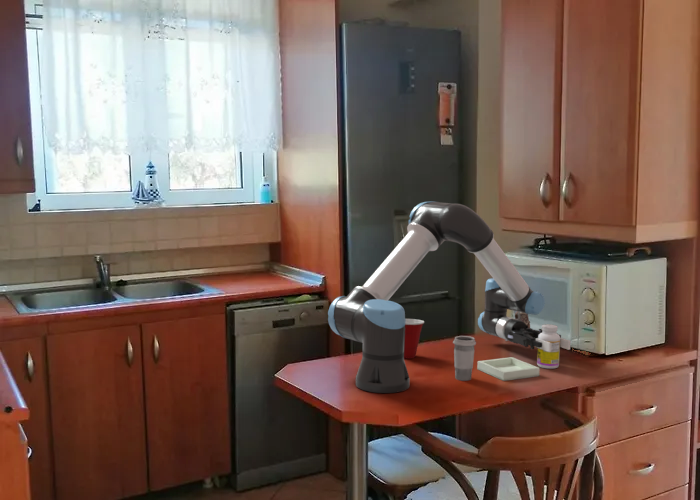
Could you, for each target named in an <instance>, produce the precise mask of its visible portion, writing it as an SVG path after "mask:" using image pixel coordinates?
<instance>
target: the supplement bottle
mask: <svg viewBox="0 0 700 500" xmlns="http://www.w3.org/2000/svg"><path fill="white" fill-rule="evenodd" d="M541 329H542V333H540V334H539V335H538V339H541V340H544V341H547V342H550V343H552V346H551V352H548V351H545V350H542V349H539V348H537V351H536V352H537V354H536V364H537V367H539V368H542V369H548V370H549V369H550V370H552V369H553V370H554V369H556V368H559V366H560V352H561V351H560V348H561V347H560V336H559V335H560V334H559V333H557V331H558V326H557V325H555V324H548V323H547V324H542V325H541ZM558 334H559V335H558Z"/></svg>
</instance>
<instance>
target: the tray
mask: <svg viewBox="0 0 700 500" xmlns="http://www.w3.org/2000/svg"><path fill="white" fill-rule="evenodd" d="M540 368H541V367H539V366H535V365H533V364H530V363H529V362H525V361H523V360H520V359H518V358H516V357H513V356H512V357H511V356H510V357H501V358H493V359H486V360H478V361H477V367H476V369H477V370H478V371H480V372H482V373H485V374H487V375H489V376H491V377H494V378H496V379H498V380H501V381H503V382H507V381H512V380H520V379H527V378H535V377H540Z"/></svg>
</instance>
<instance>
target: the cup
mask: <svg viewBox="0 0 700 500" xmlns="http://www.w3.org/2000/svg"><path fill="white" fill-rule="evenodd" d="M452 344H453V345H454V348H453V354H454V355H453V358H454V378H455V380H457V381H462V382H465V381H466V382H467V381H471V380H472V374H473V368H474V359H475V346H476V344H477V341H476V338H475V337H473V336H470V335H469V336H468V335H459V336H458V335H456V336H454V339H453V341H452Z"/></svg>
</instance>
